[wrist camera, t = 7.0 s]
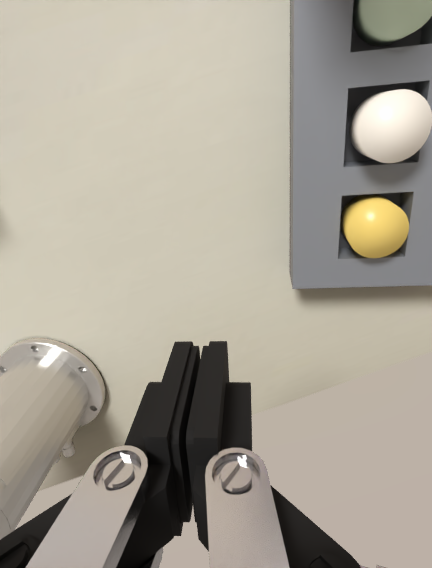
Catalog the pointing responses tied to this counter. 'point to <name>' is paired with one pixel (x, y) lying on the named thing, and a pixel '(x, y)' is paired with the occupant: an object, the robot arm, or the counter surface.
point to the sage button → (389, 19)
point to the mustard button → (374, 225)
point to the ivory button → (391, 125)
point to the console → (351, 149)
